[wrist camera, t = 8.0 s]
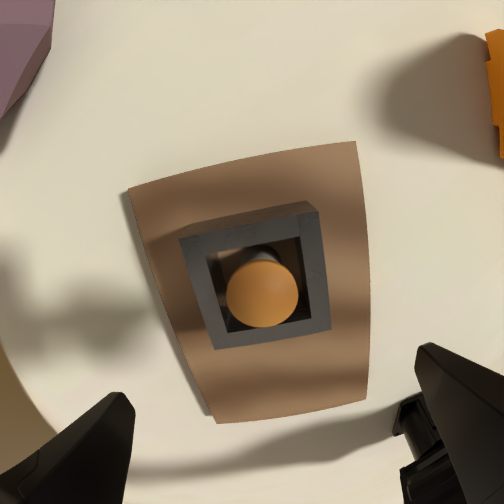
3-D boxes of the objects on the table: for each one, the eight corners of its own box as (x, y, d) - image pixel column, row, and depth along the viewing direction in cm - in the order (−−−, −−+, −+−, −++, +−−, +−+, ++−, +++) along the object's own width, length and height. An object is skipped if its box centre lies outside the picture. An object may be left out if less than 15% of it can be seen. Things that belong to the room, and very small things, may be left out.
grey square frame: (320, 302, 17) (331, 329, 14) (219, 320, 18) (214, 349, 15) (306, 200, 15) (318, 210, 12) (191, 223, 16) (178, 238, 13)
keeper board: (362, 389, 21) (379, 433, 17) (217, 413, 22) (212, 460, 18) (348, 141, 15) (386, 137, 10) (135, 186, 16) (92, 200, 11)
